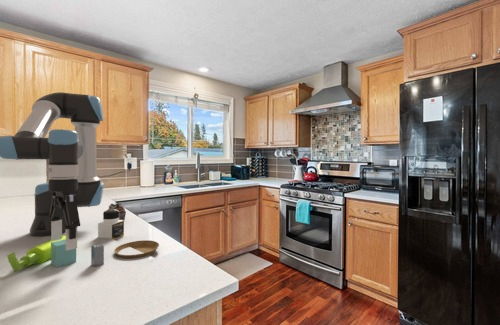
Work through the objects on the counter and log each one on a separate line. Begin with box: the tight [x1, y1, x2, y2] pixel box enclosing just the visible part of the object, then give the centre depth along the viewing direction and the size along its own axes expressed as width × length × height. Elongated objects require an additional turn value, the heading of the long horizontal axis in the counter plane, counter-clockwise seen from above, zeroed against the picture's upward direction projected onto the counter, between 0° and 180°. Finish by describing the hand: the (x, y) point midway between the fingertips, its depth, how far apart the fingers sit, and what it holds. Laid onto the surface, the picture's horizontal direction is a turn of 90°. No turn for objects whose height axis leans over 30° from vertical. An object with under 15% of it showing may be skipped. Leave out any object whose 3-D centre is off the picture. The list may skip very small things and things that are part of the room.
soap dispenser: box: [6, 234, 66, 272], centre depth 81 cm, size 6×7×20 cm
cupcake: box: [107, 202, 127, 221], centre depth 133 cm, size 10×10×10 cm
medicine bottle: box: [97, 209, 125, 241], centre depth 106 cm, size 7×7×12 cm
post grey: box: [90, 243, 105, 268], centre depth 77 cm, size 3×3×7 cm
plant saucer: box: [114, 239, 160, 259], centre depth 89 cm, size 15×15×3 cm
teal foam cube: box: [50, 239, 77, 268], centre depth 78 cm, size 5×5×7 cm
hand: (63, 244), depth 78 cm, fingers open, 13 cm apart
